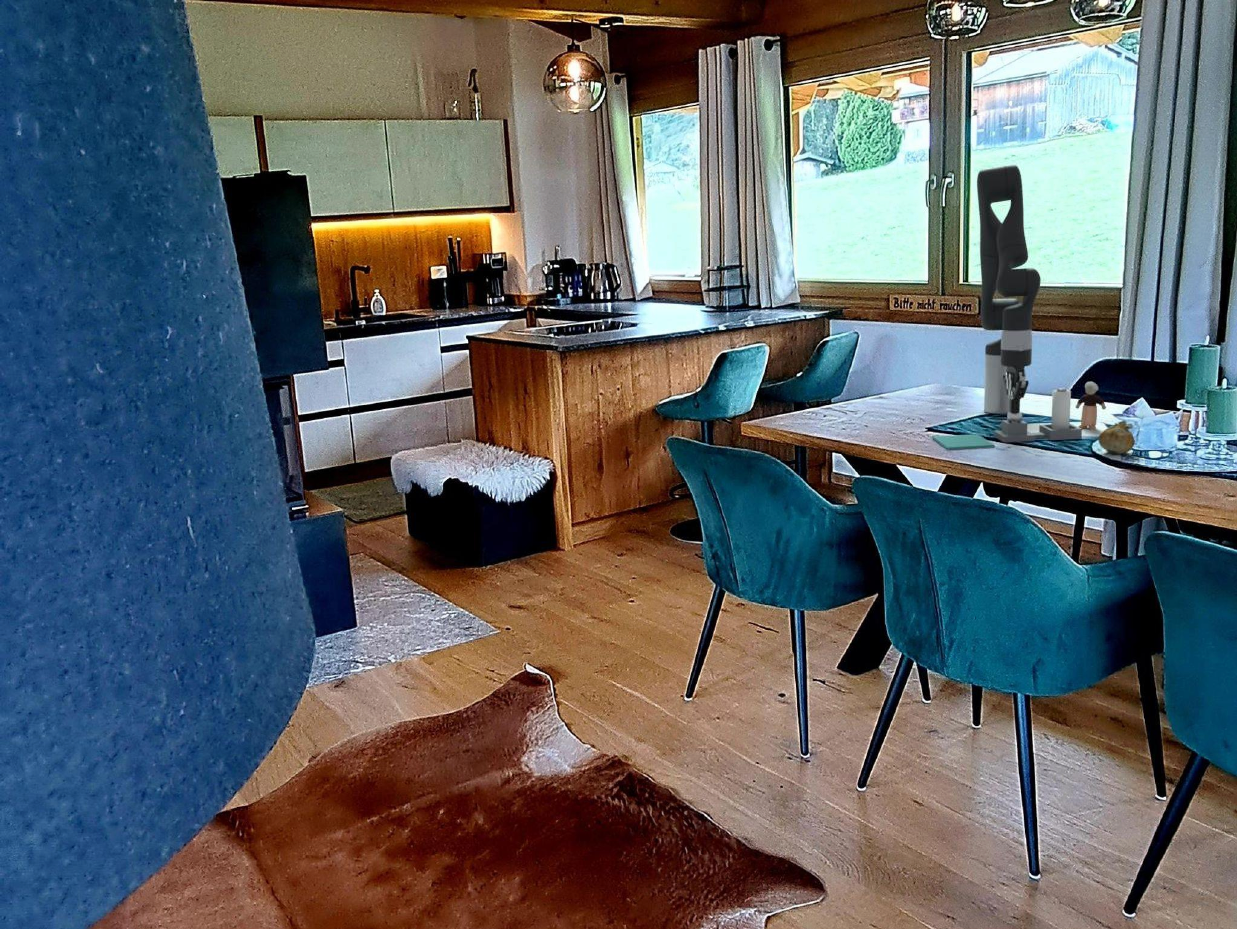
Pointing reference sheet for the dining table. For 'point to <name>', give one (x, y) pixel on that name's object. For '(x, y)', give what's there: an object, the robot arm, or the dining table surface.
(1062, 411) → the cylinder
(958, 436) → the mat
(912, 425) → the dining table surface
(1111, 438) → the onion
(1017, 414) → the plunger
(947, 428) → the dining table surface
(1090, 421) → the grandmother figurine
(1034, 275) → the robot arm
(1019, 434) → the dock
